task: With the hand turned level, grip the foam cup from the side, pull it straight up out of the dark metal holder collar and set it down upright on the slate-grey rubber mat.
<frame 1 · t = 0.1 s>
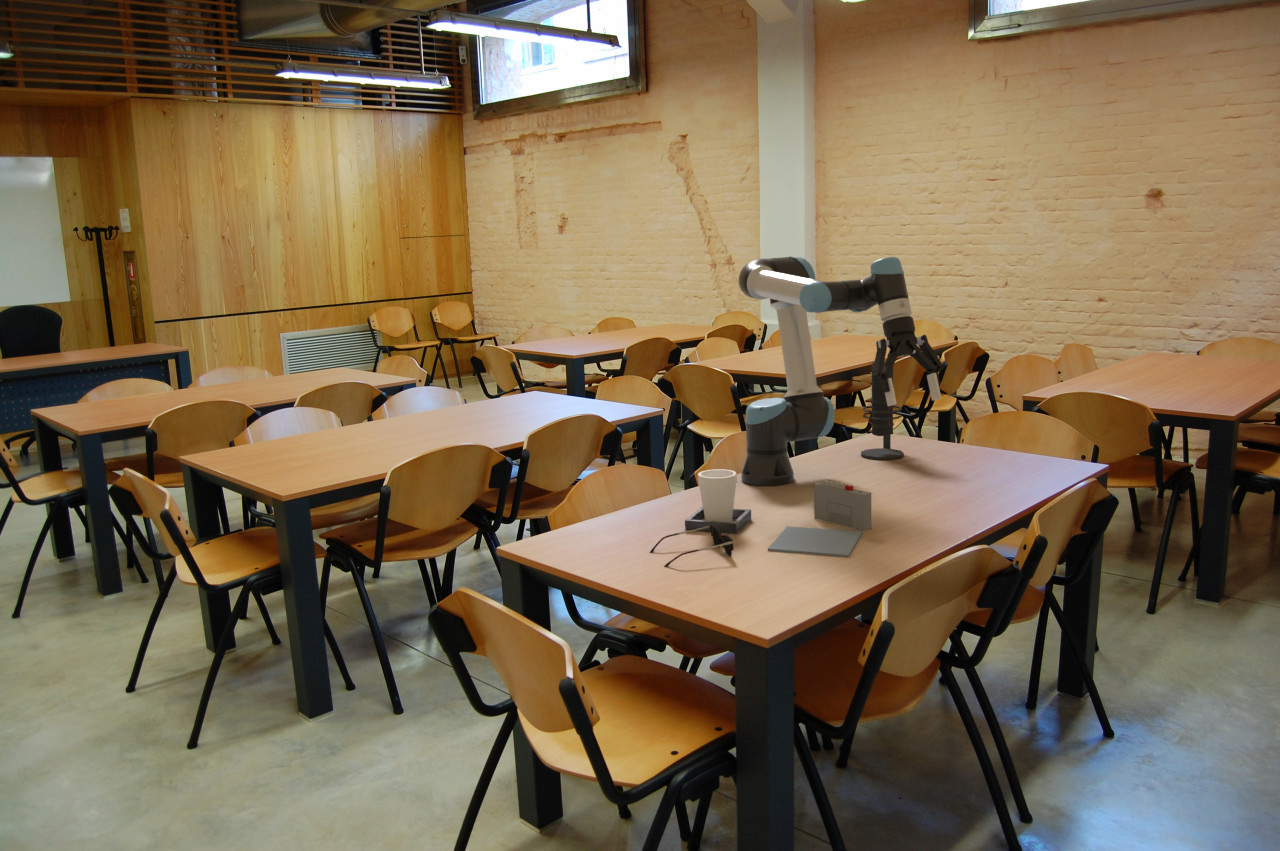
hand: (914, 402, 237), 28 cm above the table, fingers open, 13 cm apart
holder collar: (718, 524, 238), on the table
microphone: (881, 455, 306), on the table
rubber mat: (816, 541, 221), on the table
foam cup: (718, 525, 238), resting in holder collar
sunglasses: (690, 557, 216), on the table
cassette player: (842, 524, 235), on the table
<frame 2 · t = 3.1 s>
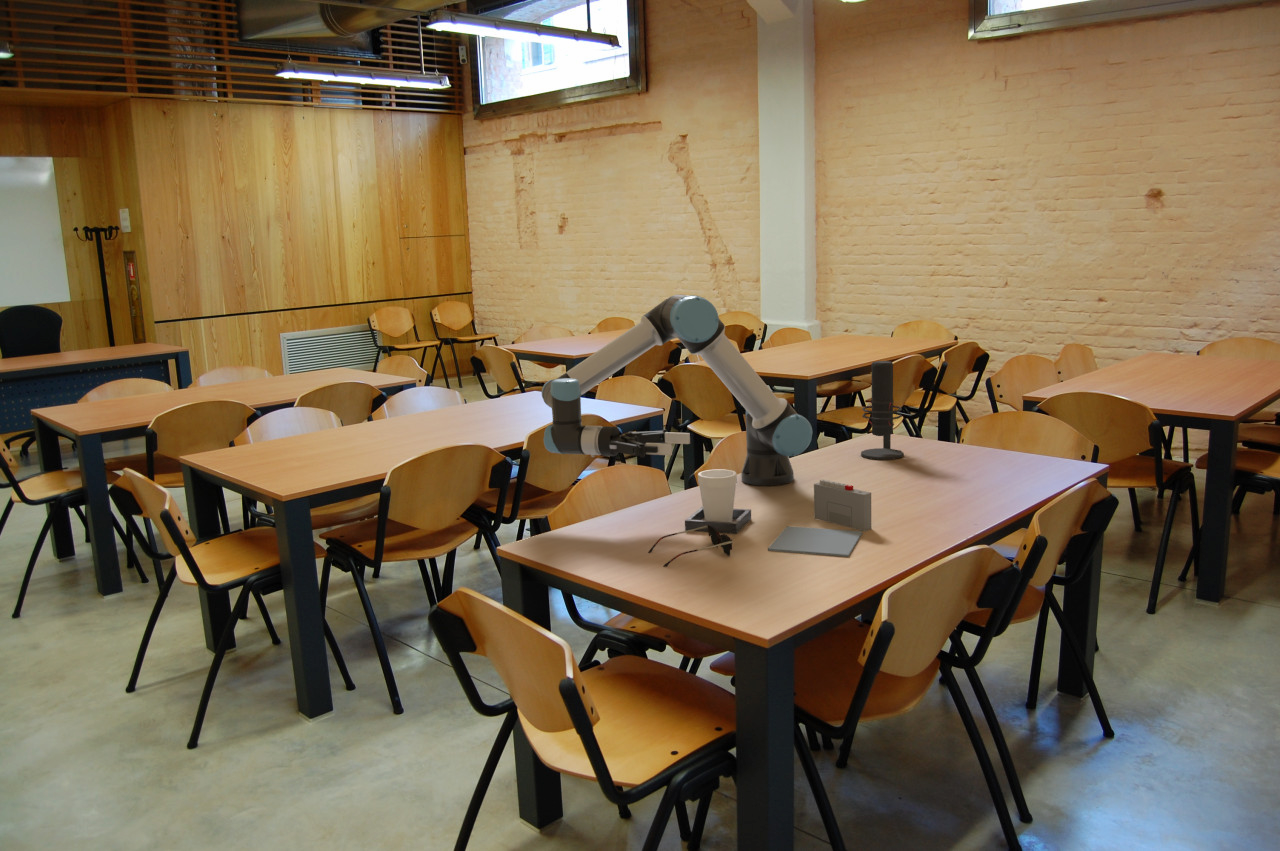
hand: (680, 443, 238), 20 cm above the table, fingers open, 13 cm apart
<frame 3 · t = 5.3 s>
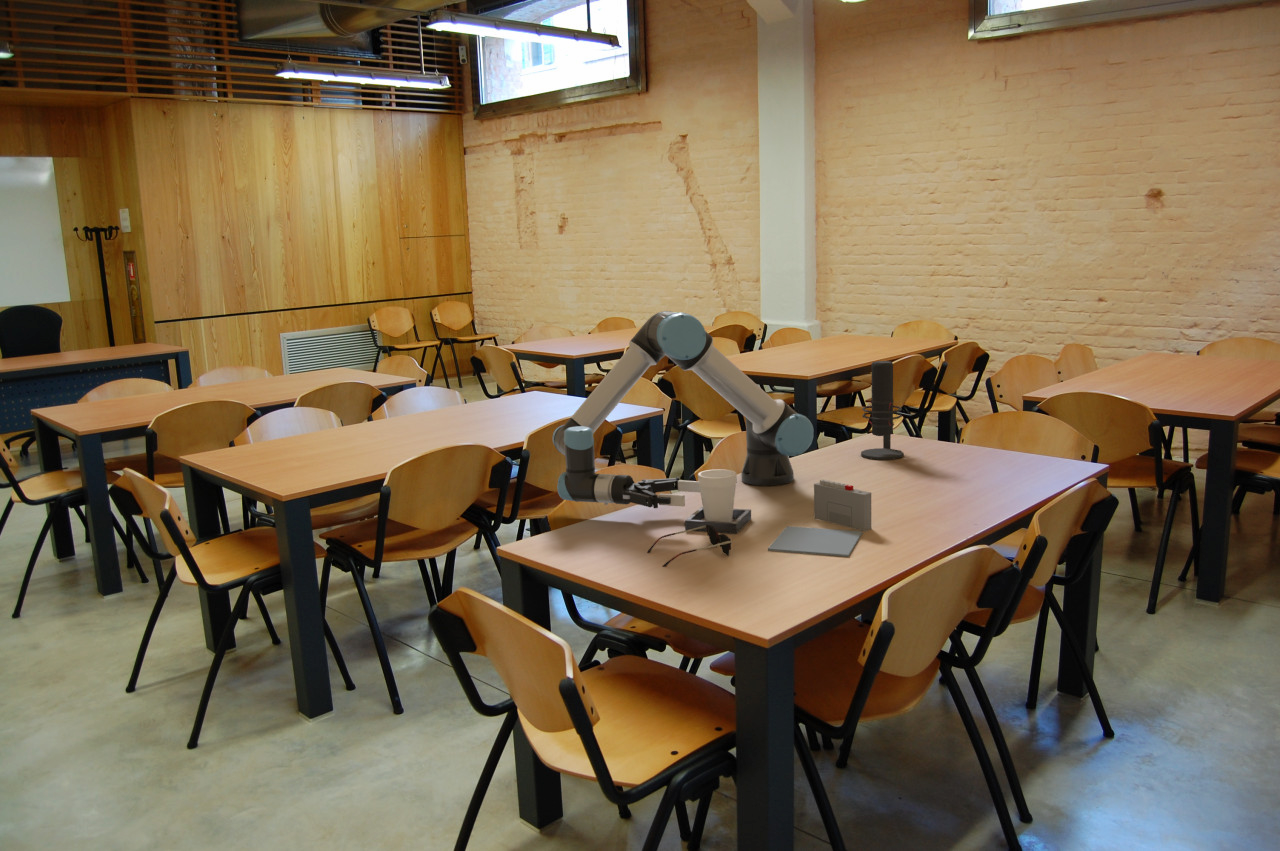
hand: (693, 493, 239), 8 cm above the table, fingers open, 13 cm apart
nothing on the table moved.
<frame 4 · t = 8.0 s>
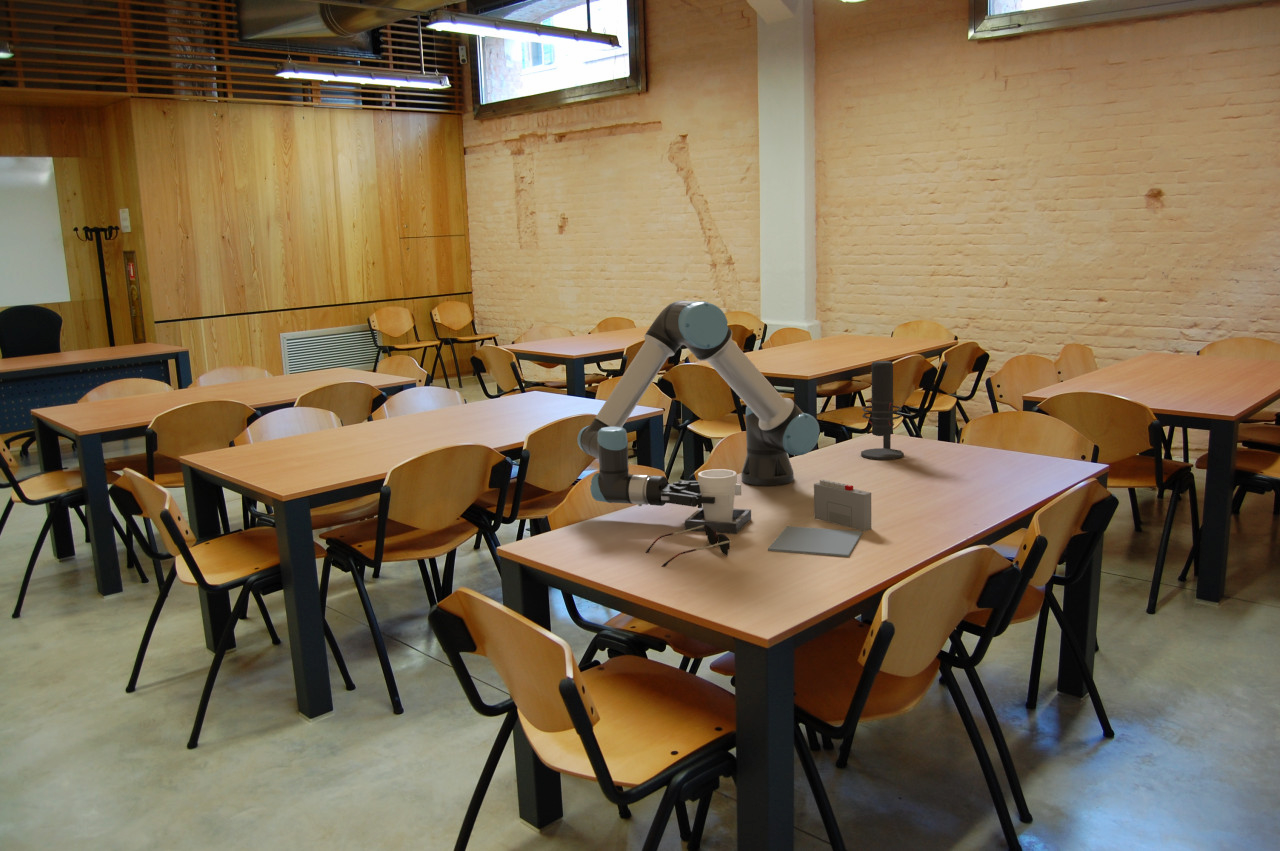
hand: (735, 495, 235), 8 cm above the table, fingers closed on foam cup, 9 cm apart
foam cup: (718, 525, 238), resting in holder collar, touching gripper
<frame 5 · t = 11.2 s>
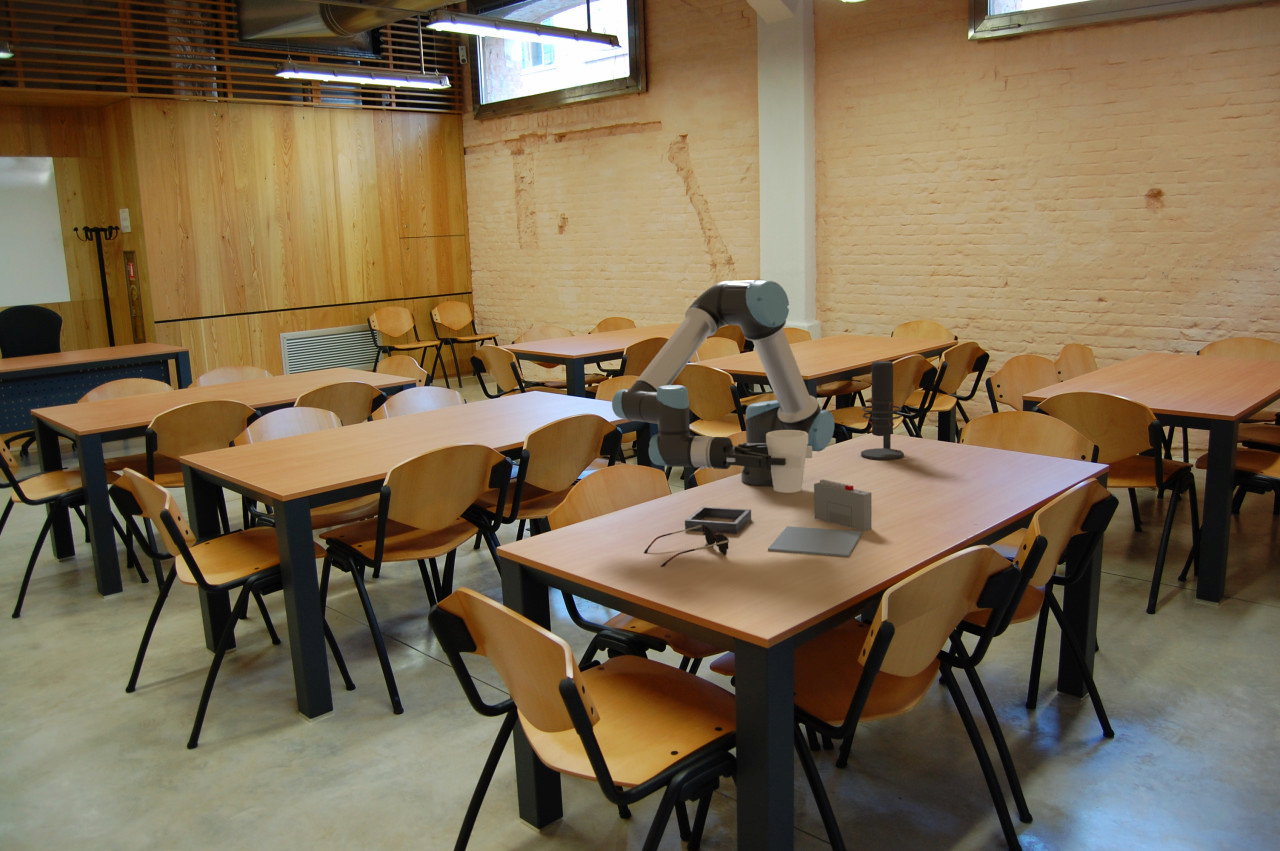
hand: (806, 456, 218), 20 cm above the table, fingers closed on foam cup, 9 cm apart
foam cup: (787, 490, 221), point 12 cm above the table, touching gripper
when the fingers open (10 cm above the table, at t = 14.6 s): foam cup drops 1 cm, resting on rubber mat.
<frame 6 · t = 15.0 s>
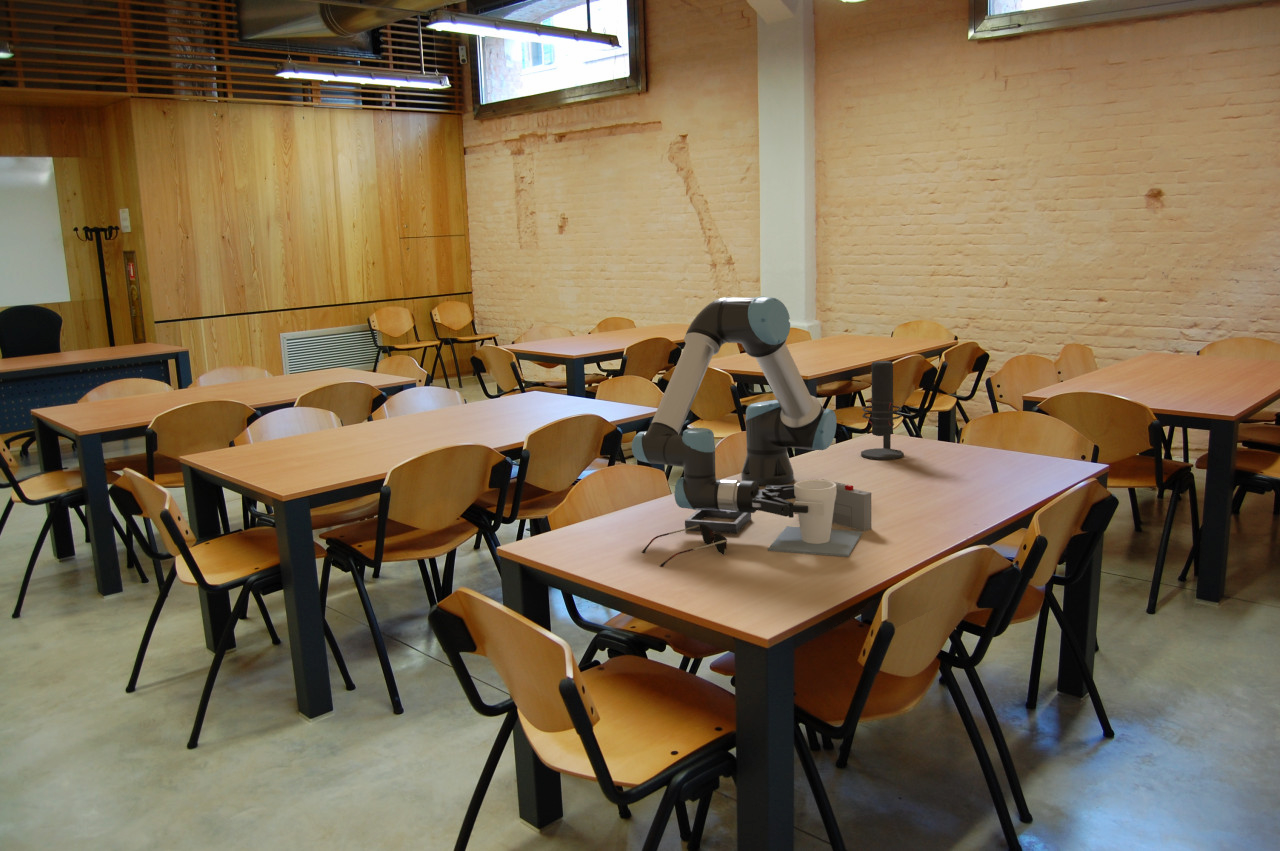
hand: (830, 501, 218), 10 cm above the table, fingers open, 13 cm apart
foam cup: (815, 540, 221), resting on rubber mat
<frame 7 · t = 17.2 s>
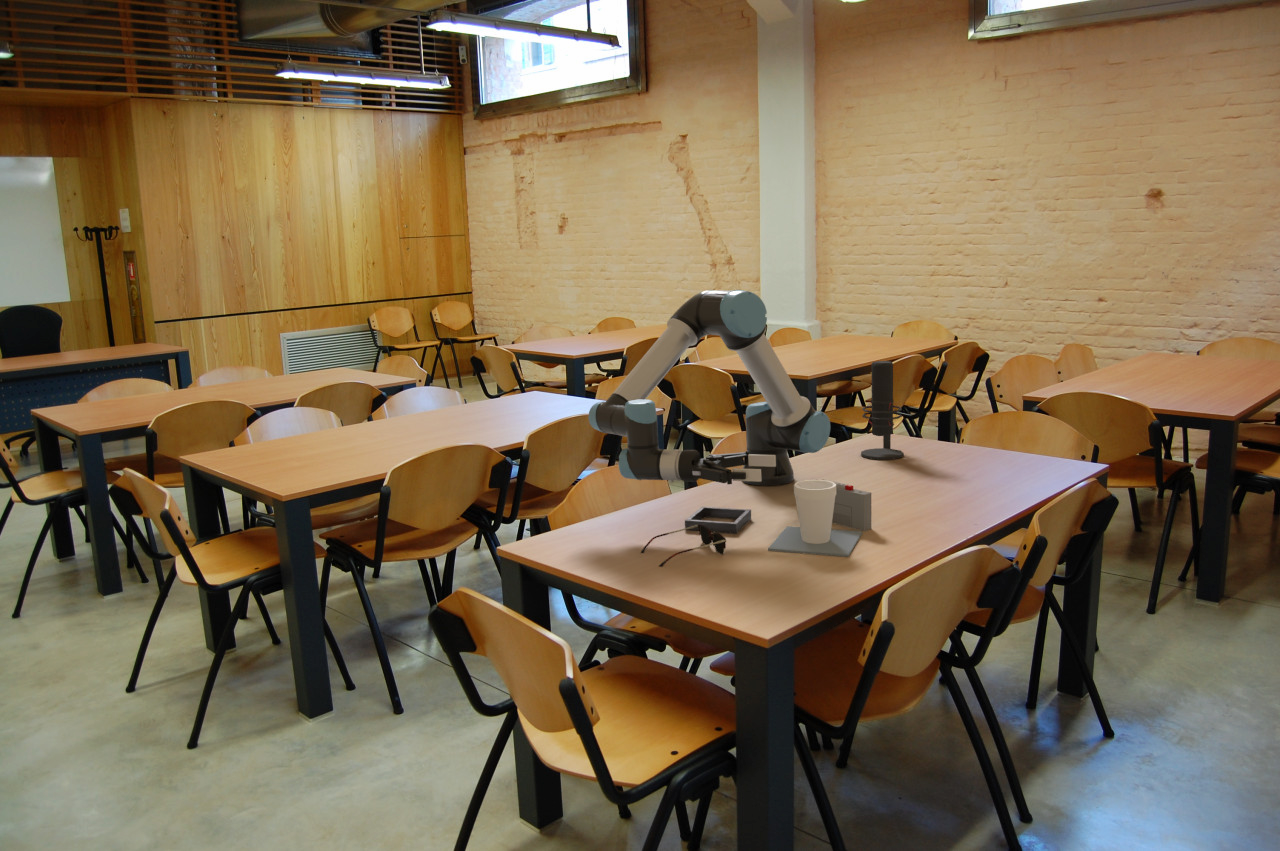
hand: (768, 467, 223), 17 cm above the table, fingers open, 13 cm apart
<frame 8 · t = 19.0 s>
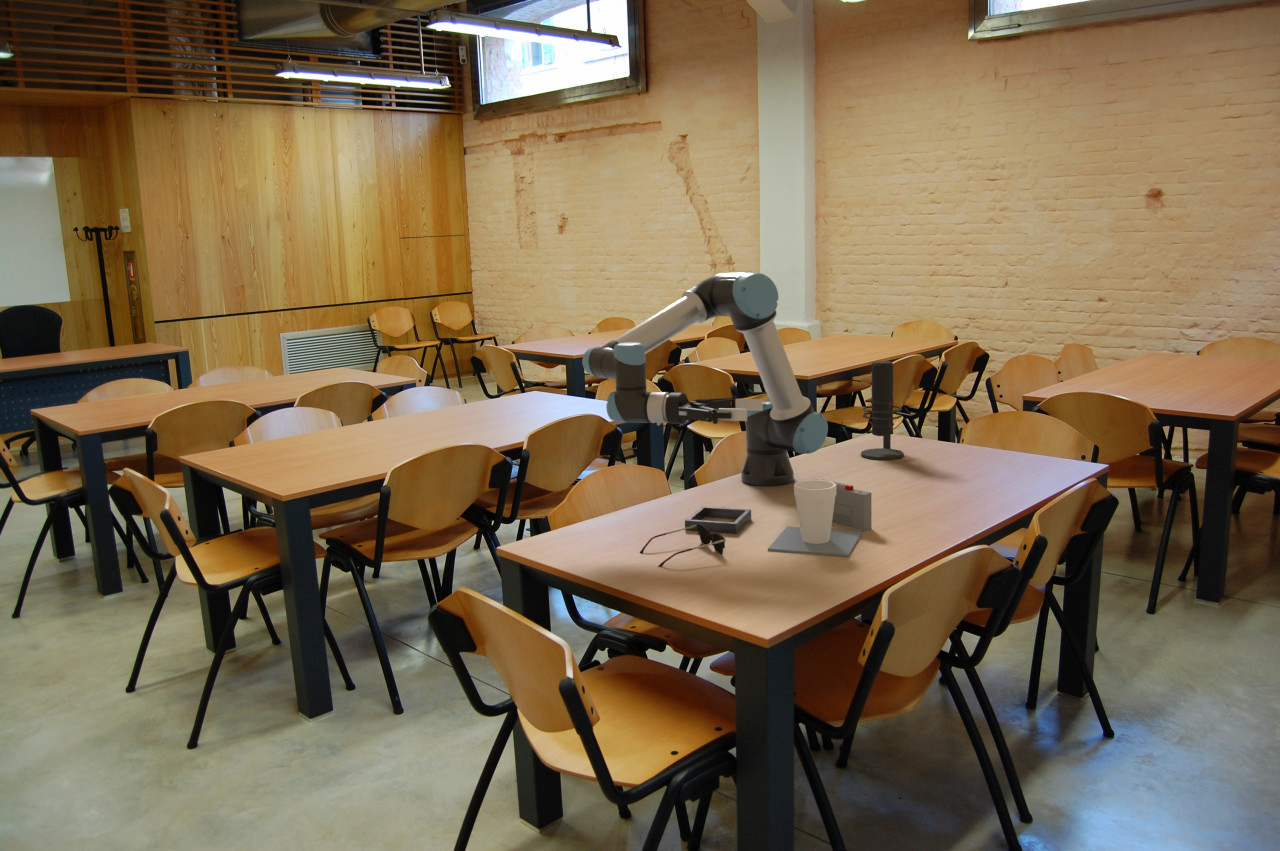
hand: (754, 409, 224), 30 cm above the table, fingers open, 13 cm apart
at the end: foam cup inside the target area on the rubber mat (0.1 cm from its centre), point 0.3 cm above the rubber mat's base; foam cup tilted 0°; the gripper is holding nothing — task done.
